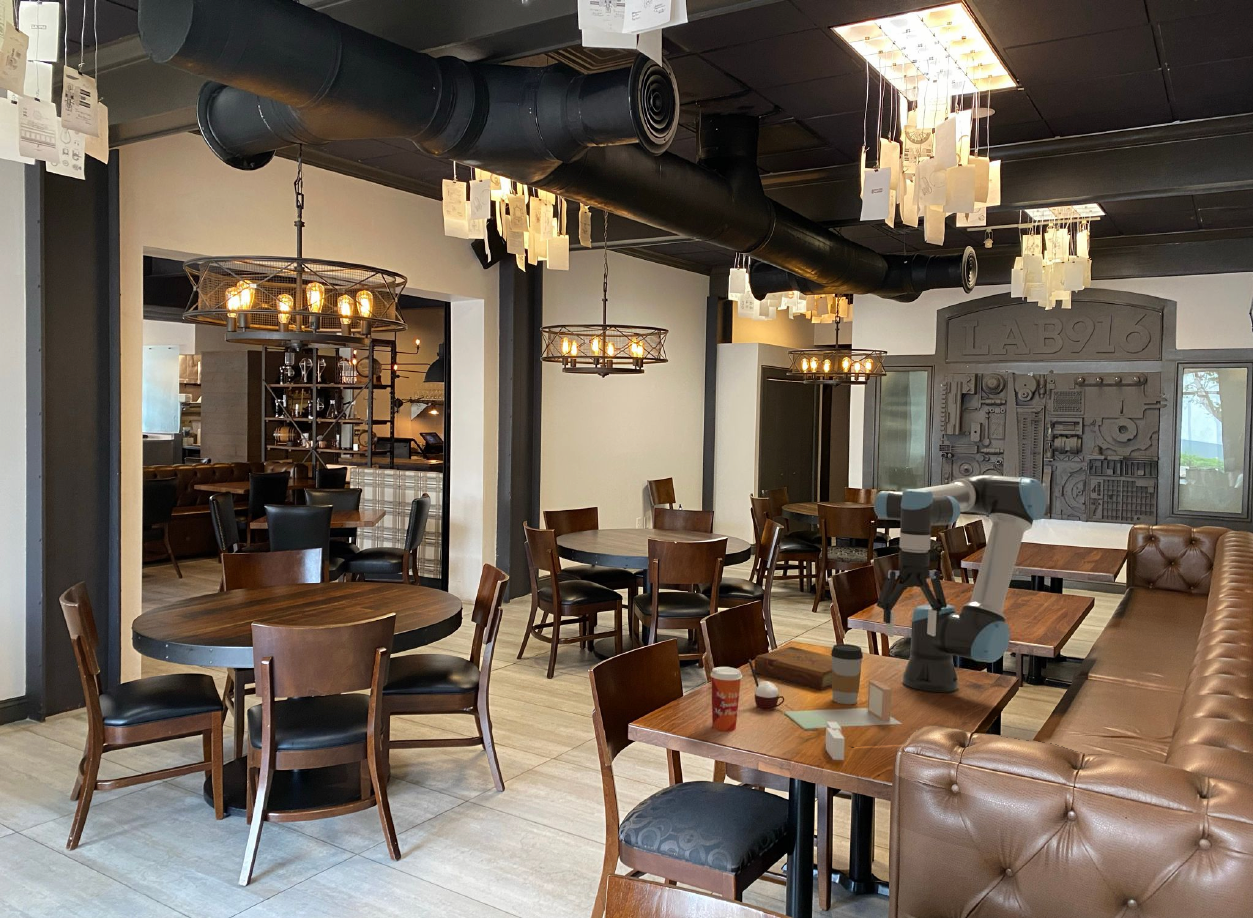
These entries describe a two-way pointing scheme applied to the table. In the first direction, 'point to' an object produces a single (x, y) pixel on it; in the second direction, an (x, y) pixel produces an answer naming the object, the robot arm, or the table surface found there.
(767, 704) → the cocoa
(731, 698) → the paper cup
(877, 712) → the tile
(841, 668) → the coffee cup
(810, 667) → the diary
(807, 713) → the mat
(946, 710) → the table surface
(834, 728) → the white stepped block
